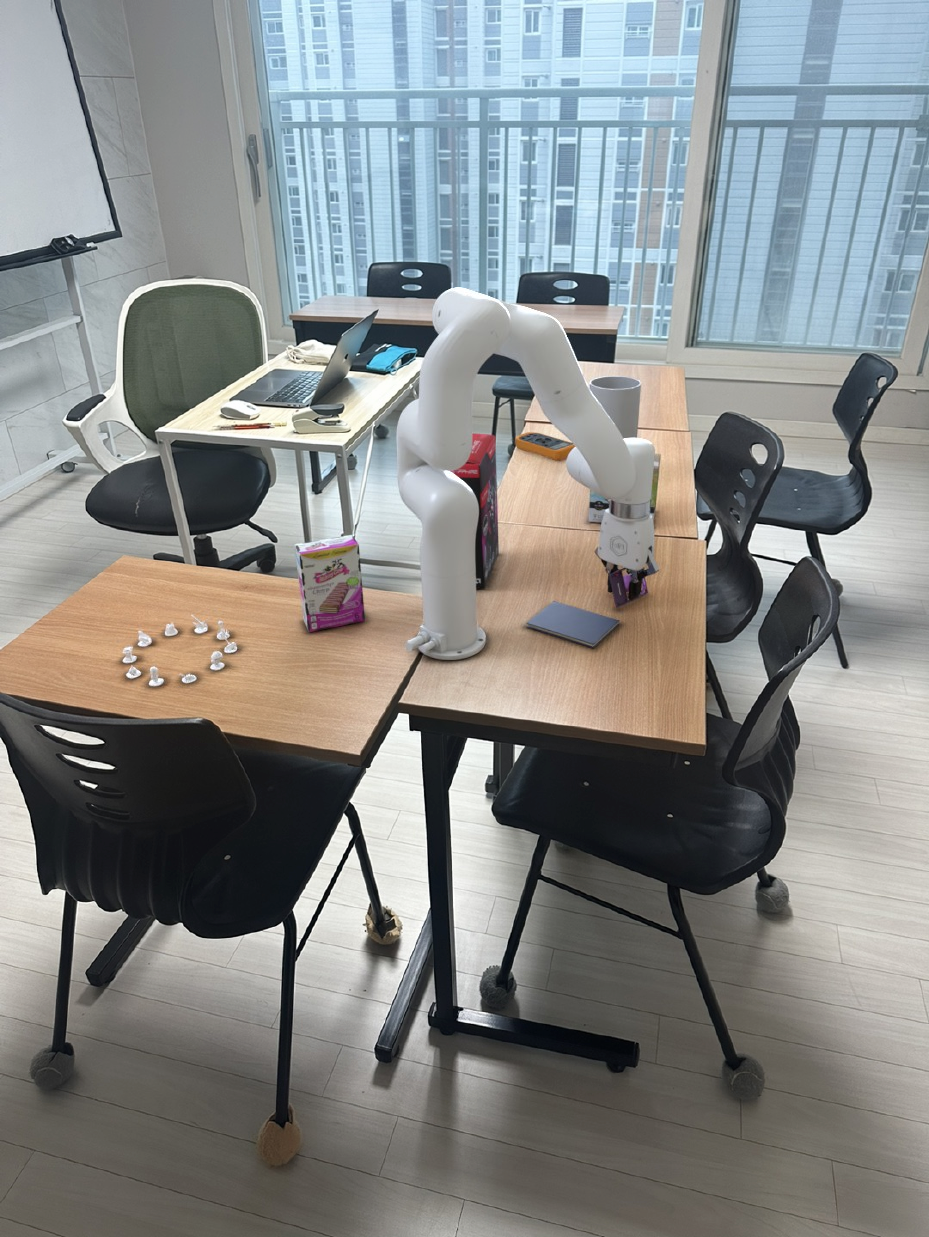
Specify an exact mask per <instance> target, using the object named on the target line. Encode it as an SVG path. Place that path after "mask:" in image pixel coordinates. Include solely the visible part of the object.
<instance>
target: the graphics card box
mask: <svg viewBox="0 0 929 1237" xmlns="http://www.w3.org/2000/svg"><path fill="white" fill-rule="evenodd" d="M496 444H497V443H496V435H494V434H489V433H488V434H487V433H477V432H476V433H475V432H474V433H473V432H472V450H471V454H470V456H469V458H468V460H467V462H466V463H465V464H464V465H463V466H462V467H460V468H459V469H457V470H453V471H450V472H452V473H453V474H455V475H456V476H457V477H459V478H460V479H461V480H463V481H464V482H465V483H466V484H467V485H468V486H469V487H470V488H471V490H472V491H473V493H474V494H475V496H476V498H477V501H478V506H479V517H478V524H477V529H476V538H475V566H476V590H478V589H479V590H485V589H486V586H487V584H488V581H489V578H490V576H491V574H492V571H493V569H494V566H495V564H496V561H497V559H498V556H499V554H500V546H499V512H498V509H499V508H498V481H497V480H498V479H497V448H496V447H497V446H496Z"/></svg>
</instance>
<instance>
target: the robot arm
mask: <svg viewBox="0 0 929 1237" xmlns="http://www.w3.org/2000/svg"><path fill="white" fill-rule="evenodd" d="M431 320H432V325H433V327H434V330H435V332H436V333H437V337H436V338H435V339H434V340H433V342H432V343H431V345H430V346H429V347H428V350H426V353H425V355H424V357H423V359H422V363H421V366H420V370H419V377H418V378H419V379H418V385H419V386H418V398H416V399H414V400H412V401H410V402H409V403H408V404H407V405H406V406H405V407H404V409H403V410H402V412H401V414H400V415H399V418H398V422H397V425H396V434H395V435H396V439H395V440H396V472H397V473H396V474H397V487H398V488H397V489H398V494H399V496H400V498H401V501H402V502H403V504H404V505H405V506H406V508H407V509H408V510H409V511H410V512H412V514H414V515H415V517H416V518H417V519H418V520H419V521H420V523H421V527H422V530H421V531H422V532H421V538H420V543H419V567H420V580H421V581H420V583H421V596H422V597H421V598H422V599H421V600H422V615H423V624H421V625H419V631H418V633H417V634H416V636H415V637H412V638H411V639H409V640H406V641H405V643H404V648H405V650H406V651H407V652H409V653H411V652H413V651H415V650H417V649H418V651H419V652H420V653H422V654H423V655H425V656H426V657H429V658H432V659H436V660H441V661H457V660H463V659H467V658H470V657H473V656H475V655H476V654H478V653H480V652H481V651H482V650H483V649H484V647H485V646H486V643H487V635H486V632H485V631H484V630H483V628H481V627H480V626H479V625H478V614H477V612H478V610H477V589H476V566H475V538H476V529H477V524H478V517H479V506H478V501H477V498H476V496H475V494H474V493H473V491H472V490H471V488H470V487H469V486H468V485H467V484H466V483H465V482H464V481H463V480H461V479H460V478H459V477H457V476H456V475H455V474H453V473H452V472H450V471H453V470H457V469H459V468H460V467H462V466H463V465H464V464H465V463H466V462H467V460H468V458H469V456H470V454H471V450H472V433H473V413H474V412H473V411H474V410H473V404H474V402H473V401H474V400H473V399H474V388H475V382H476V377H477V375H478V373H479V371H480V369H481V368H482V366H483V365H484V364H485V362H486V361H487V360H488V359H489V358H490V357H491V356H493V354H495V355H499V356H502V357H506V358H509V359H511V360H513V361H515V362H517V363H518V364H519V366H520V367H521V369H522V371H523V373H524V375H525V377H526V380H527V381H528V384H529V385H530V388H531V390H532V392H533V394H534V396H535V398H536V400H537V402H538V405H539V406H540V409H541V411H542V413H543V415H544V416H545V417H546V418H547V419H548V421H549V422H550V423H551V424H552V426H554V428H556V429H557V430H558V432H560V433H561V434H562V435H564V436H565V437H566V438H567V439H568V440H569V442H571V443H573V444H574V445H575V446H576V447H575V448H573V449H572V450H571V452H570V453H569V455H568V457H567V458H566V461H565V467H566V470H567V473H568V474H569V476H570V477H571V478H572V479H573V480H574V481H575V482H577V483H579V484H580V485H582V486H584V487H585V488H588V489H589V490H590V489H591V490H592V491H594V492H596V493H597V494H599V495H600V496H602V497H604V498H605V501H608V502H609V508H608V509H606V510H605V513H604V516H603V520H602V522H601V523H600V528H599V536H598V542H597V544H598V545H597V547H596V548H595V549H594V551H593V552H594V554H595V555H596V556H597V557H598V558H599V560H600V561H601V563H602V565H603V566H604V568H605V573H606V574H607V582H606V585H607V592H608V593H610V594H612V587H611V583H610V578H609V574H611V573H613V572H616V571H618V570H620V569H621V568H619V567H622V568H627V569H631V574H630V575H632V581H630V582H629V592H627V597H628V600H631V602H633V601H634V600H633V599H635V598H637V597H638V596H639V595H640V594H642V593H641V590H643V586H642V579H643V578H645V579H646V577H649V576H652V575H655V574H657V573H658V572H660V568H659V565H658V563H657V561H656V559H655V547H656V546H655V539H656V538H655V525H654V524H655V523H654V521H653V516H652V515H651V514H650V507H651V493H652V481H653V469H654V457H655V454H656V449H655V445H654V444H653V443H652V442H651V441H649V440H647V439H644V438H640V437H637V438H626V439H623V437H622V435H621V433H620V432H619V430H618V429H617V427H616V426H615V424H614V423H613V421H612V420H611V419H610V417H609V416H608V415H607V413H606V412H605V410H604V409H603V407H602V406H601V404H600V403H599V402H598V400H597V399H596V398H595V396H594V395H593V394H592V392H591V391H590V389H589V384H588V382H587V380H586V378H585V376H584V373H583V371H582V369H581V366H580V364H579V362H578V359H577V357H576V354H575V351H574V349H573V347H572V345H571V342H570V340H569V338H568V337H567V333H566V331H565V330H564V327H563V326H562V325H561V323H560V322H559V320H557V319H556V318H555V317H553V316H551V315H549V314H547V313H545V312H541V311H539V310H535V309H532V308H529V307H526V306H523V305H518V304H514V303H511V302H508V301H504V300H500V299H497V298H494V297H491V296H489V295H486V294H483V293H480V292H479V293H478V292H476V291H473V290H471V289H467V288H464V287H454V288H450V289H448V290H445V291H444V292H442V293H441V294H440V295H439V296H438V297H437V298H436V300H435V301H434V304H433V307H432V311H431ZM646 565H647V568H646V567H645V566H646ZM627 569H626V570H627ZM637 599H638V598H637ZM632 600H633V601H632ZM635 600H636V599H635Z"/></svg>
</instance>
